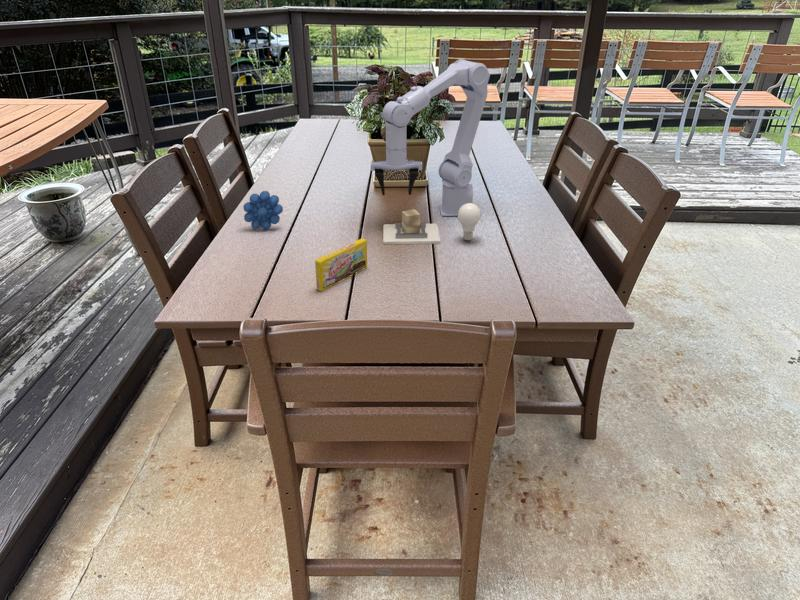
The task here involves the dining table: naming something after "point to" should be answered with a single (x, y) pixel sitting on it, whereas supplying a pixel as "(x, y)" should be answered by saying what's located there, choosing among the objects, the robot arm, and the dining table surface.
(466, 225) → the lightbulb
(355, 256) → the candy box
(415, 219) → the birch block
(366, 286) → the dining table surface
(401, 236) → the socket board
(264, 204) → the blue knobbed flower
